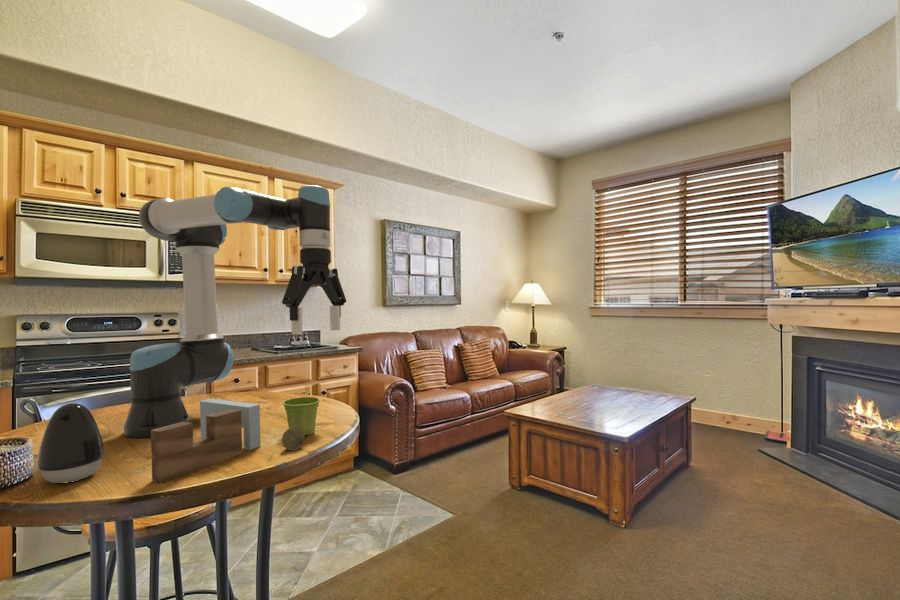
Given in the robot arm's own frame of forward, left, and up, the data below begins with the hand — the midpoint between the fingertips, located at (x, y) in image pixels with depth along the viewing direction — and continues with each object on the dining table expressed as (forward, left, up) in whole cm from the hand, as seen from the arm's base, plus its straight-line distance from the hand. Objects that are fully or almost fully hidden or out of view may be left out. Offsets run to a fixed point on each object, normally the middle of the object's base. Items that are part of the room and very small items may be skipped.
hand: (317, 332), depth 113 cm
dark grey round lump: (0, -9, -27) cm, 28 cm away
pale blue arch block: (-18, -12, -27) cm, 34 cm away
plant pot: (-7, +1, -27) cm, 28 cm away
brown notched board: (-10, -25, -27) cm, 38 cm away
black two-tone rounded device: (-28, -40, -27) cm, 56 cm away
